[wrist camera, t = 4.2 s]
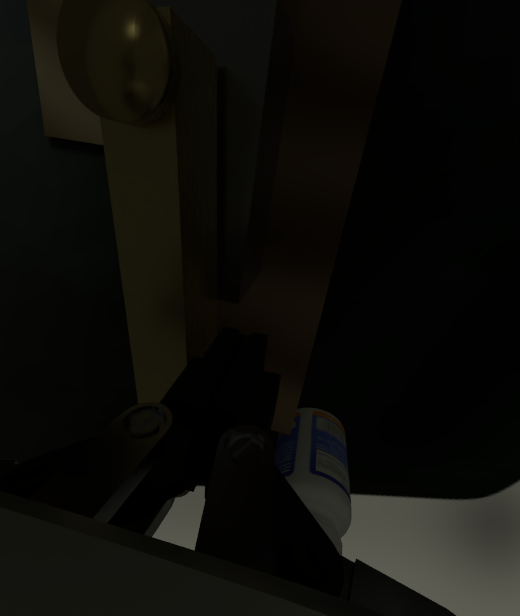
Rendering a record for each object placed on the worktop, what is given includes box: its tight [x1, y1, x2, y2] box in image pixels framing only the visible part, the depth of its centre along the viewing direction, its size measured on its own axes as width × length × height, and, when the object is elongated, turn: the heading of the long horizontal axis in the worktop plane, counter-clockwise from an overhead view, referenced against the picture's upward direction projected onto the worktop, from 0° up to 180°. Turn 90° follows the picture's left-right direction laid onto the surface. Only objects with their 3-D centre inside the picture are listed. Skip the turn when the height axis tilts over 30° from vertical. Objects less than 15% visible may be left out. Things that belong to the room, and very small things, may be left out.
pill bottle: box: [274, 408, 351, 556], centre depth 21 cm, size 5×5×10 cm
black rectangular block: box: [148, 0, 295, 304], centre depth 13 cm, size 10×4×4 cm, turn 171°
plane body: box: [217, 0, 402, 435], centre depth 16 cm, size 26×10×9 cm, turn 171°
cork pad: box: [27, 0, 103, 145], centre depth 17 cm, size 12×6×1 cm, turn 171°
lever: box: [56, 0, 217, 498], centre depth 13 cm, size 15×2×9 cm, turn 176°
